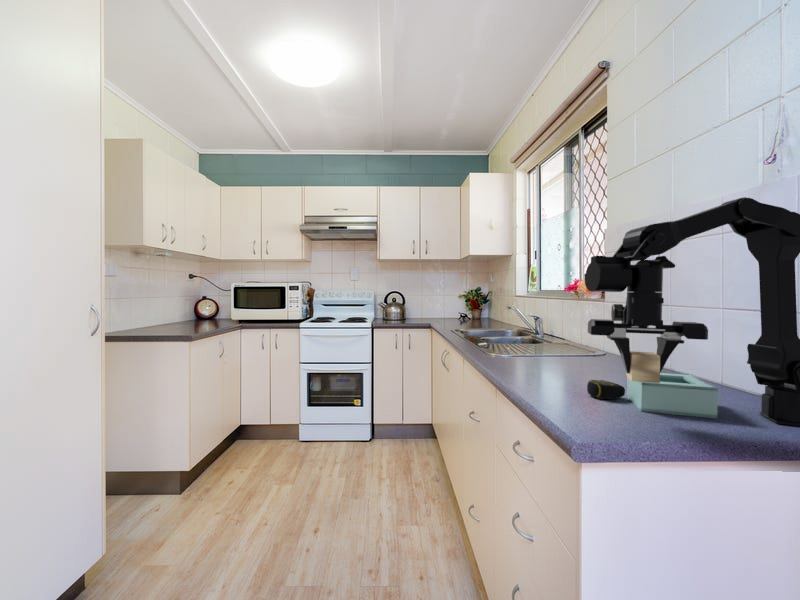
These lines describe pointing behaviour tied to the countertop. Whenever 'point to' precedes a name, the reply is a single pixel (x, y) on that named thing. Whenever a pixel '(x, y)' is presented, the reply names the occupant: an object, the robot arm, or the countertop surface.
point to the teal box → (675, 396)
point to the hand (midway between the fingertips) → (642, 373)
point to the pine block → (644, 367)
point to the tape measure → (605, 389)
